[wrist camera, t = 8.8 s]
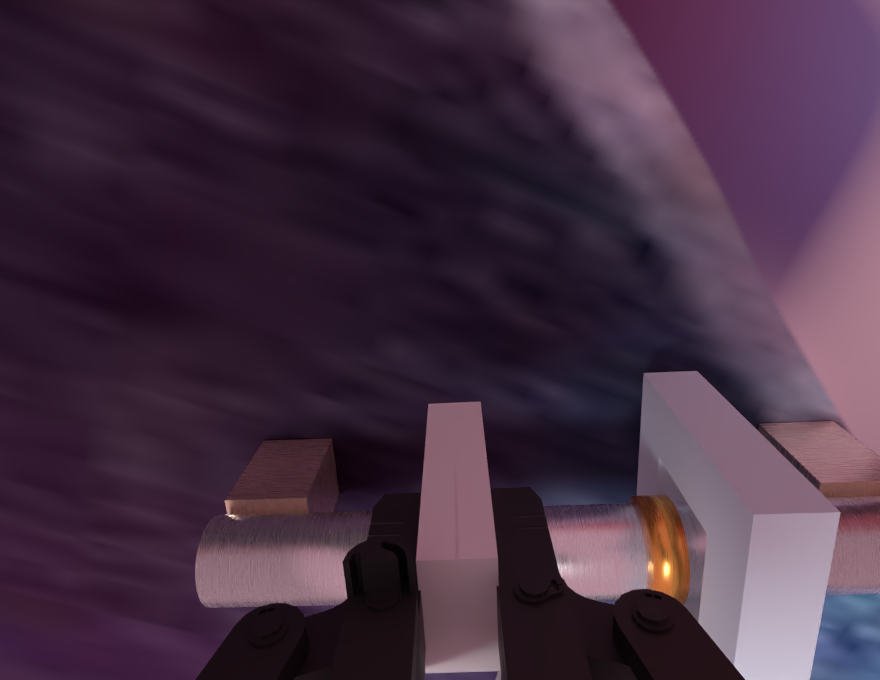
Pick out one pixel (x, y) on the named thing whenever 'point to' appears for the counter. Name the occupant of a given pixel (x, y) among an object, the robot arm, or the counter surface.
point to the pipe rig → (571, 526)
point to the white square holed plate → (741, 525)
